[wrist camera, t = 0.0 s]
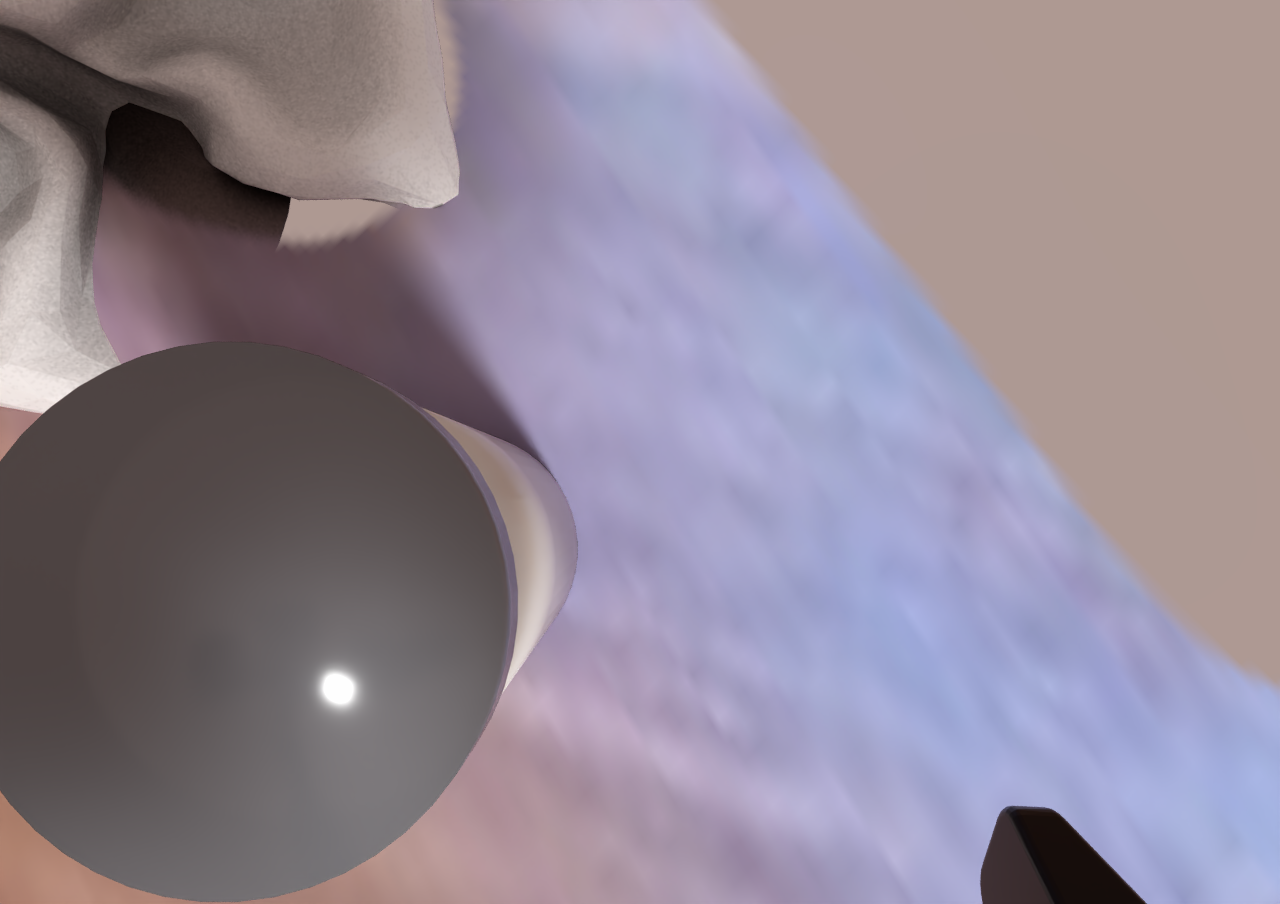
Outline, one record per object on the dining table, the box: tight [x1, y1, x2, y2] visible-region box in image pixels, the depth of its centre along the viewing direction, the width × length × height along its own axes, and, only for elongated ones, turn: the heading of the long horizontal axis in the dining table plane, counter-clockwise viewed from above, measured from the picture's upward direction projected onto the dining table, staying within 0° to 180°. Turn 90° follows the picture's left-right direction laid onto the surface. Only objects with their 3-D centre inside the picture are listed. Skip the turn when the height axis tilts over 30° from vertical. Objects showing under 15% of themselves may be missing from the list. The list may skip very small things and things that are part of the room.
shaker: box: [0, 342, 578, 902], centre depth 17 cm, size 6×6×13 cm
